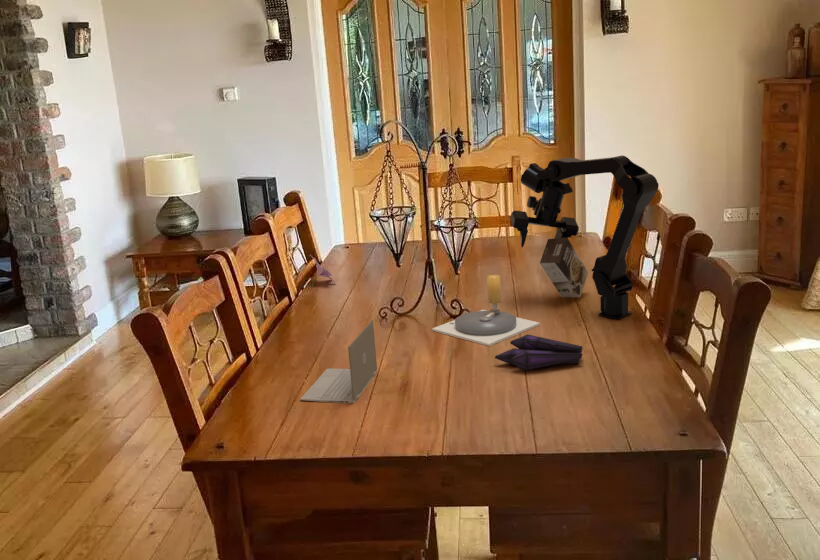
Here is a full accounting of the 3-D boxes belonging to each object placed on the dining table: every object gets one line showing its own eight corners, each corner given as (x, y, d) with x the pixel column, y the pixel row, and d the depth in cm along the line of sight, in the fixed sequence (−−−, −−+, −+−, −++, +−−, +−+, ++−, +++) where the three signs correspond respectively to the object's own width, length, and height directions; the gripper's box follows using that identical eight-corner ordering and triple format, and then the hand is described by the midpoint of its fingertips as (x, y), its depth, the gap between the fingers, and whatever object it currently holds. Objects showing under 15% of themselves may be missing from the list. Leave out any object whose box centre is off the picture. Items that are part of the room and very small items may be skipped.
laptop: (327, 371, 195) (321, 318, 192) (378, 372, 192) (373, 319, 189) (299, 402, 178) (293, 345, 175) (355, 404, 175) (349, 346, 172)
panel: (539, 324, 216) (539, 321, 216) (489, 346, 203) (488, 342, 203) (482, 311, 230) (482, 308, 230) (432, 330, 218) (431, 327, 217)
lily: (330, 293, 263) (341, 265, 263) (296, 280, 263) (306, 252, 263) (334, 294, 275) (344, 267, 275) (301, 282, 275) (311, 255, 275)
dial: (501, 338, 206) (499, 293, 203) (444, 331, 214) (442, 288, 211) (525, 318, 219) (524, 276, 216) (471, 313, 227) (469, 272, 224)
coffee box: (581, 297, 234) (559, 263, 224) (560, 297, 238) (538, 263, 228) (589, 271, 239) (568, 236, 229) (569, 272, 243) (547, 238, 233)
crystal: (582, 330, 192) (496, 325, 194) (586, 352, 181) (495, 347, 183) (579, 357, 195) (494, 352, 197) (584, 381, 184) (494, 375, 186)
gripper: (576, 191, 236) (561, 238, 244) (513, 183, 233) (500, 230, 242) (586, 210, 227) (570, 258, 235) (520, 201, 224) (507, 250, 232)
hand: (536, 248), depth 236 cm, fingers open, 9 cm apart
